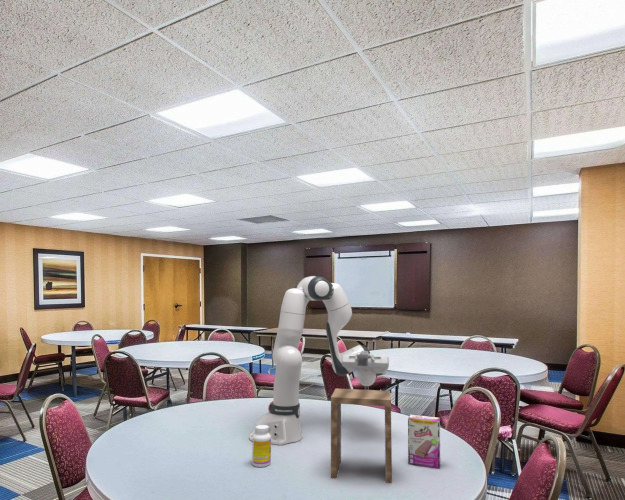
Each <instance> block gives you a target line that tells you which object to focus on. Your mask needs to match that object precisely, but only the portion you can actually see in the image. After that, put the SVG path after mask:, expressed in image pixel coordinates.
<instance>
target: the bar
mask: <svg viewBox="0 0 625 500" xmlns="http://www.w3.org/2000/svg"><path fill="white" fill-rule="evenodd" d="M357 366H368V351H361V353H360V354H357Z"/></svg>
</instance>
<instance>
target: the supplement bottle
mask: <svg viewBox="0 0 625 500" xmlns="http://www.w3.org/2000/svg"><path fill="white" fill-rule="evenodd" d="M255 427H256V433H255V434H254V435H253V441H252V449H251V451H252V453H251V455H252V456H251V459H252V460H251V463H252V465H253V466H254V467H256V468H264V467H267V466H270V465H271V459H272V457H271V455H272V454H271V453H272V444H271V435H270V434H269V433H268V430H269V427H268V426H267V425H258V426H256V425H255Z"/></svg>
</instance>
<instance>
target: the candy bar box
mask: <svg viewBox="0 0 625 500" xmlns="http://www.w3.org/2000/svg"><path fill="white" fill-rule="evenodd" d="M440 421H441V419H440V417H435V416H427V415H426V416H425V415H418V414H409V415H408V417H407V450H408V451H407V454H408V455H407V461H408V462H407V463H408V465H414V466H420V467H426V468H433V469H434V468H435V469H440V468H441V432H440V431H441V425H440V424H441V423H440Z"/></svg>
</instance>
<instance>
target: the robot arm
mask: <svg viewBox="0 0 625 500" xmlns="http://www.w3.org/2000/svg"><path fill="white" fill-rule="evenodd" d="M310 301H317V302H320V301H322V302H323V304H324V306H325V308H326V312H327V315H328V316H327V317H328V319H327V321H326V323H325V333H326V338H327V342H328V343H327V344H328V347H329V352H330V357H331V367H332V369H333V371H334V373H335V374H336V375H338V376H340V377H345V376H347V375H349V374H350V373H352V372H354V371H355V372H356V377H357V380H358V382H359V384H360V385H362V386H363V387H369V386H372V385H374V383H375V382H376V378H377V377H379V376H384V375H386V374H387V371H388V369H389V366H390V357H389V356H387V355H374V354H372V353H371V352H370V350H369V349H368V347H366V346H364V345H362V344H358V345H356V346H354V347H351V348H350V349H347V350H345V351H343V352H340V349H339V344H338V339H337V337H338V334H339V332H340V331H341V330H342V329H343V328H344V327H345V326H346V325H347V324H348V323H349V321H350V320H351V318H352V317H353V316H352V315H353V310H352V306H351V303H350V300H349V298H348V295H347V294H346V292H345V290H344V289H343V287H342V286H341V285H340V284H339V283H337V282H330V281H329V280H328V279H327V278H325V277H323V276H316V275H310V276H305V277H303V278H301V279H300V280H299V281H298V282H297V284H296V286H295V287H294V288H293V287H292V288H289V289H287V290H286V291H285V293H284V296H283V299H282V302H281V307H280V312H279V313H280V314H279V318H278V319H279V320H278V328H277V333H276V336H275V340H274V341H275V342H274V346H273V351H272V360H273V362H274V364H275V373H274V374H275V376H274V382H273V397H272V399H273V400H272V401H271V402H270V403H269V405H268V407H267V410H268V412H267V413H266V414H265V415H263V416H262V417H260V418H259V419H258V420H257V422H256V423H255V428H254V430H252V431H251V432H250V434H249V435H248V440H249V441H251V442H253V435H254V434H255V433H256V426H258V425H267V426H268V427H269V430H268V433H269V434H270V435H271V445H279V446H283V445H286V444H290V443H295V442H298V441H301V440H302V439H303V435H302V429H301V426H300V415H301V404H300V400H299V399H300V380H301V375H302V374H301V373H302V364H303V357H302V353H301V351H300V350H299V345H300V341H301V338H302V335H303V332H304V326H305V318H306V309H307V306H308V304H309V302H310ZM361 351H368V366H357V354H360V353H361Z"/></svg>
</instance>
